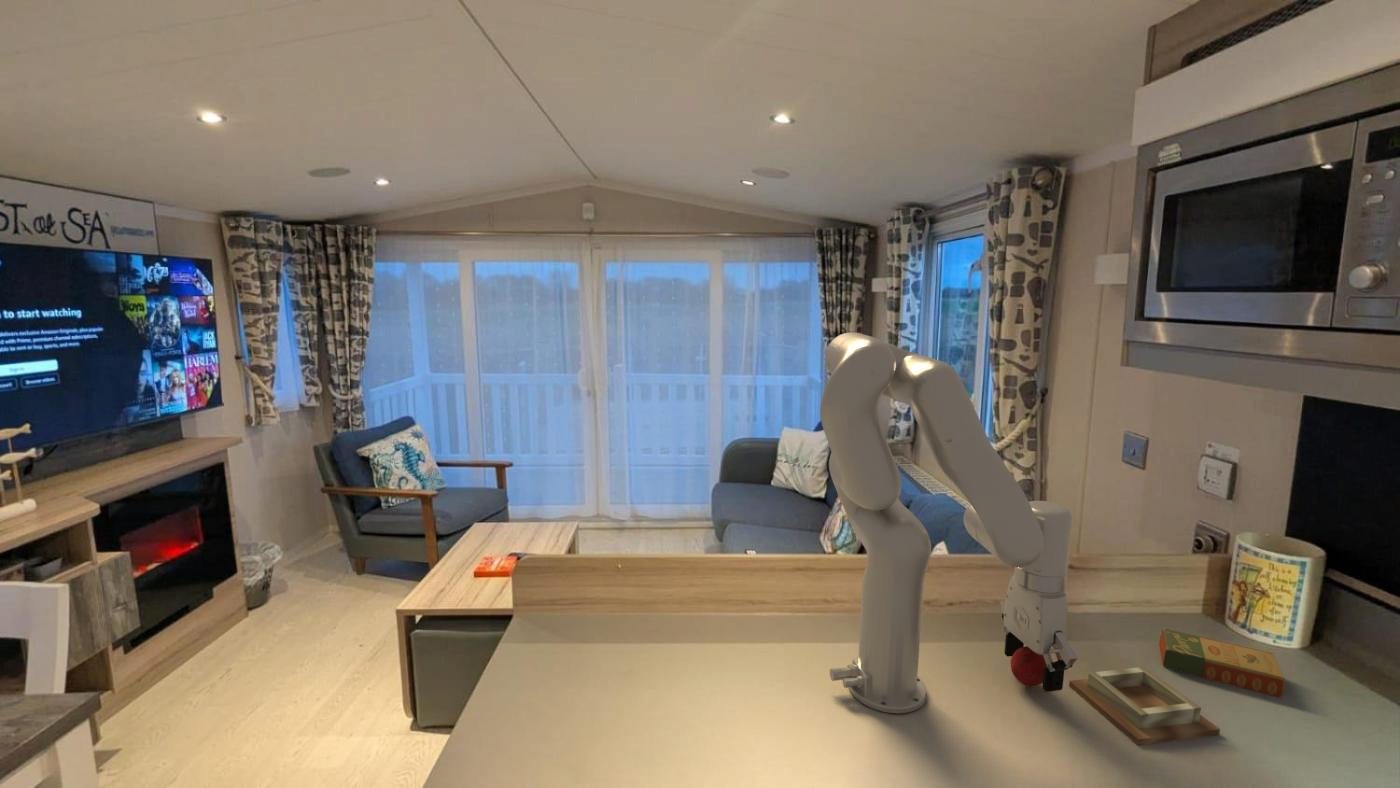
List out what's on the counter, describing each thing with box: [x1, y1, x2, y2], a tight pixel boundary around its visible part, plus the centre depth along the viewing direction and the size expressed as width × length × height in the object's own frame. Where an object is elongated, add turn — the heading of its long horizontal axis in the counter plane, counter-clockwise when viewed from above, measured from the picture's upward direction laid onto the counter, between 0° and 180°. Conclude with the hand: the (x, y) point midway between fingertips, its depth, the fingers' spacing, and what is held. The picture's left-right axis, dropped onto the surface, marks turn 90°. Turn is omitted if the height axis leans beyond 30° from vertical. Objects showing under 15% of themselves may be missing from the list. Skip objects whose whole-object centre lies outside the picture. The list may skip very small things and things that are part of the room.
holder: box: [1068, 666, 1221, 746], centre depth 101 cm, size 14×14×4 cm
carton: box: [1158, 627, 1285, 699], centre depth 111 cm, size 8×16×4 cm, turn 58°
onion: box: [1010, 645, 1047, 688], centre depth 106 cm, size 6×6×8 cm
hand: (1032, 671), depth 106 cm, fingers open, 9 cm apart
